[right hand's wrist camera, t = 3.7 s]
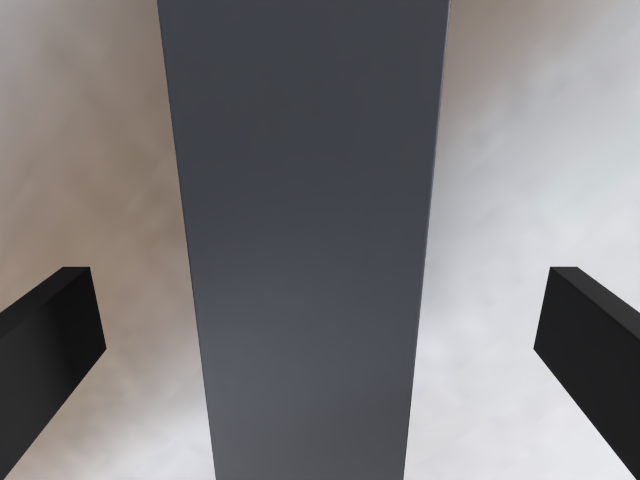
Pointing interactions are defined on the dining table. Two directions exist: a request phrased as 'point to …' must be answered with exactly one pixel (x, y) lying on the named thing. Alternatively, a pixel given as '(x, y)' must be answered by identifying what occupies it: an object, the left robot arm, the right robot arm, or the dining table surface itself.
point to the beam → (306, 222)
